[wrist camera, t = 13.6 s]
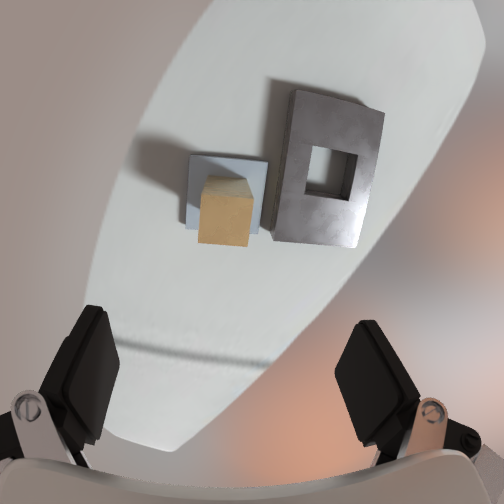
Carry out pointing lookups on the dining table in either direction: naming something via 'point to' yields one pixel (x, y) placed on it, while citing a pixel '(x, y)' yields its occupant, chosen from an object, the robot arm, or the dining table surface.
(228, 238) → the brass block
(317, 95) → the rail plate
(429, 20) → the dining table surface
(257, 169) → the mat
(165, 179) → the dining table surface
